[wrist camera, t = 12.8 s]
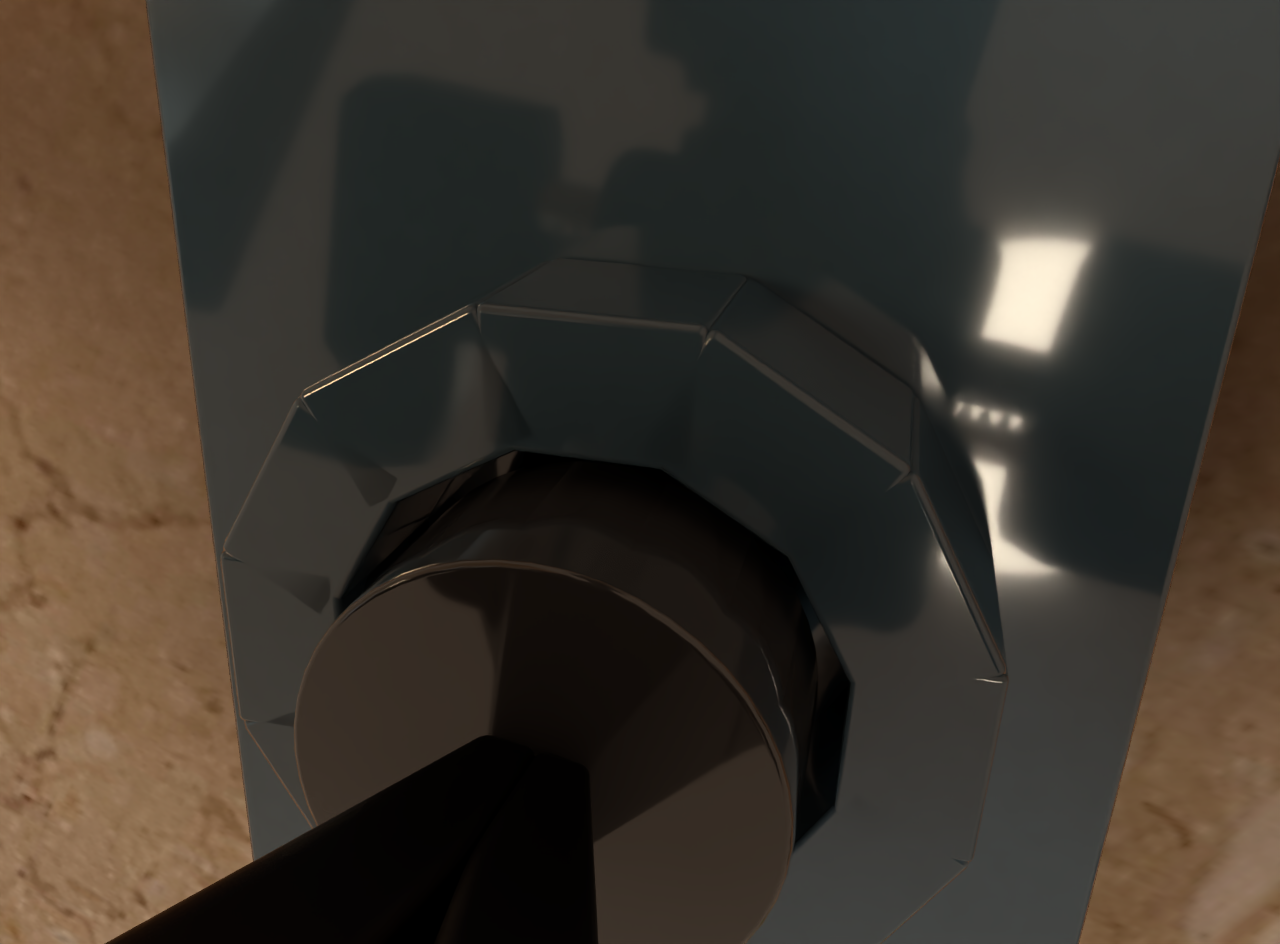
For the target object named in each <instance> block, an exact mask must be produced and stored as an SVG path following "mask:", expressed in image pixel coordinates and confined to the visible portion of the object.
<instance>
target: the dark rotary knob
mask: <svg viewBox="0 0 1280 944" xmlns="http://www.w3.org/2000/svg"><path fill="white" fill-rule="evenodd" d="M818 679H819V673H818V664H817V655H816V648H815V644H814V640H813V636H812V632H811V628H810V625H809V621H808V619H807V617H806V614H805V612H804V609H803V607H802V605H801V602H800V600H799V597H798V595H797V594H796V592H795V590H794V589H793V587H792V585H791V583H790V582H789V580H788V578H787V577H786V575H785V573H784V572H783V570H782V569H781V568H780V566H779V565H778V564H777V562H776V561H775V560H774V559H773V557H772V556H771V555H770V553H769V552H768V551H767V549H766V548H765V547H764V546H763V545H762V544H761V543H760V542H759V541H758V540H757V539H756V538H755V537H754V536H753V535H752V534H751V533H750V532H749V531H748V530H747V529H746V528H745V527H743V526H742V525H740V524H739V523H738V522H736V521H735V520H733V519H732V518H730V517H729V516H728V515H726V514H725V513H723V512H722V511H720V510H719V509H717V508H716V507H715V506H713V505H712V504H710V503H709V502H707V501H706V500H705V499H703V498H702V497H700V496H699V495H697V494H696V493H694V492H693V491H692V490H690V489H688V488H686V487H684V486H682V485H680V484H678V483H675V482H673V481H671V480H669V479H667V478H664V477H661V476H658V475H655V474H652V473H649V472H645V471H642V470H639V469H636V468H631V467H625V466H620V465H615V464H610V463H600V462H585V461H569V462H553V463H545V464H540V465H535V466H530V467H525V468H521V469H518V470H515V471H512V472H509V473H506V474H503V475H501V476H498V477H495V478H493V479H491V480H490V481H488V482H486V483H484V484H482V485H480V486H478V487H476V488H474V489H473V490H471V491H470V492H469V493H467V494H466V495H465V496H463V497H462V498H460V499H459V500H458V501H456V502H455V503H454V504H453V505H452V506H451V507H450V508H449V509H447V510H446V511H445V512H444V513H443V514H442V515H441V516H440V517H439V518H438V519H437V520H436V521H435V522H434V523H433V524H432V525H431V526H430V527H429V528H428V529H427V530H426V531H425V532H424V533H423V534H422V535H421V536H420V537H419V538H418V539H417V540H416V541H415V542H414V543H413V544H412V545H411V546H410V547H409V548H408V549H407V550H406V551H405V552H404V553H403V554H401V555H400V556H399V557H398V558H397V559H396V560H395V561H394V562H393V563H392V564H391V565H390V566H389V567H388V568H387V569H386V570H385V571H384V572H383V573H382V574H381V575H380V576H379V577H378V578H377V579H376V580H375V581H374V582H373V583H372V584H371V585H370V586H369V587H368V588H367V589H366V590H365V591H364V592H363V593H362V594H361V595H360V596H359V597H358V598H357V599H355V600H354V601H353V602H352V603H351V604H350V605H349V606H348V607H347V608H346V609H345V610H344V611H343V612H342V613H341V614H340V615H339V617H338V618H337V619H336V620H335V621H334V622H333V623H332V624H331V625H330V626H329V628H328V629H327V631H326V632H325V634H324V635H323V636H322V638H321V639H320V641H319V642H318V644H317V645H316V647H315V649H314V651H313V653H312V655H311V658H310V660H309V662H308V664H307V666H306V668H305V671H304V674H303V678H302V681H301V685H300V688H299V692H298V696H297V702H296V710H295V718H294V749H295V757H296V763H297V769H298V774H299V779H300V783H301V786H302V789H303V792H304V796H305V799H306V802H307V805H308V807H309V810H310V812H311V814H312V816H313V819H314V821H315V823H316V825H317V826H319V825H320V824H322V823H324V822H326V821H328V820H329V819H331V818H333V817H335V816H337V815H338V814H340V813H342V812H344V811H346V810H347V809H349V808H351V807H353V806H355V805H357V804H358V803H360V802H362V801H364V800H366V799H367V798H369V797H371V796H373V795H375V794H376V793H378V792H380V791H382V790H384V789H385V788H387V787H389V786H391V785H393V784H394V783H396V782H398V781H400V780H402V779H404V778H405V777H407V776H409V775H411V774H413V773H414V772H416V771H418V770H420V769H422V768H423V767H425V766H427V765H429V764H431V763H432V762H434V761H436V760H438V759H440V758H441V757H443V756H445V755H447V754H449V753H451V752H452V751H454V750H456V749H458V748H460V747H461V746H463V745H465V744H467V743H469V742H470V741H472V740H474V739H476V738H478V737H480V736H484V735H492V736H496V737H499V738H502V739H505V740H508V741H511V742H514V743H517V744H520V745H523V746H526V747H529V748H530V749H531V750H532V751H533V753H534V756H536V755H538V754H541V753H548V754H551V755H554V756H557V757H560V758H564V759H567V760H570V761H573V762H576V763H579V764H582V765H584V766H585V767H586V768H587V769H588V771H589V774H590V789H591V808H592V828H593V847H594V866H595V886H596V905H597V924H598V944H746V943H747V941H748V940H749V939H750V938H751V937H752V936H753V935H754V933H755V932H756V931H757V930H758V929H759V928H760V926H761V925H762V924H763V923H764V922H765V920H766V918H767V917H768V915H769V913H770V912H771V910H772V908H773V907H774V905H775V904H776V902H777V900H778V898H779V896H780V893H781V890H782V888H783V885H784V883H785V880H786V878H787V875H788V871H789V866H790V861H791V857H792V852H793V847H794V841H795V835H796V829H797V823H798V816H799V810H800V804H801V798H802V792H803V786H804V780H805V774H806V768H807V762H808V756H809V749H810V743H811V737H812V731H813V725H814V719H815V713H816V707H817V701H818Z"/></svg>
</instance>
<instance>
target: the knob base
mask: <svg viewBox="0 0 1280 944" xmlns="http://www.w3.org/2000/svg"><path fill="white" fill-rule="evenodd" d="M146 8H147V16H148V24H149V32H150V40H151V48H152V56H153V64H154V72H155V80H156V88H157V96H158V104H159V112H160V120H161V128H162V136H163V144H164V152H165V160H166V168H167V176H168V184H169V192H170V200H171V208H172V216H173V224H174V232H175V240H176V248H177V256H178V264H179V272H180V280H181V288H182V296H183V304H184V312H185V320H186V328H187V336H188V344H189V352H190V360H191V368H192V376H193V384H194V393H195V401H196V409H197V417H198V425H199V433H200V441H201V449H202V457H203V465H204V473H205V481H206V489H207V497H208V505H209V513H210V521H211V529H212V537H213V545H214V553H215V561H216V569H217V577H218V585H219V593H220V601H221V609H222V617H223V625H224V633H225V641H226V649H227V657H228V665H229V673H230V681H231V689H232V697H233V705H234V713H235V721H236V729H237V737H238V745H239V753H240V761H241V769H242V777H243V785H244V793H245V801H246V809H247V817H248V825H249V833H250V841H251V849H252V857H253V861H255V860H257V859H259V858H261V857H262V856H264V855H266V854H268V853H270V852H272V851H273V850H275V849H277V848H279V847H281V846H282V845H284V844H286V843H288V842H290V841H291V840H293V839H295V838H297V837H299V836H300V835H302V834H304V833H306V832H308V831H309V830H311V829H313V828H315V827H317V825H316V823H315V821H314V819H313V816H312V814H311V812H310V810H309V807H308V805H307V802H306V799H305V796H304V792H303V789H302V786H301V783H300V779H299V774H298V769H297V763H296V757H295V749H294V718H295V710H296V702H297V696H298V692H299V688H300V685H301V681H302V678H303V674H304V671H305V668H306V666H307V664H308V662H309V660H310V658H311V655H312V653H313V651H314V649H315V647H316V645H317V644H318V642H319V641H320V639H321V638H322V636H323V635H324V634H325V632H326V631H327V629H328V628H329V626H330V625H331V624H332V623H333V622H334V621H335V620H336V619H337V618H338V617H339V615H340V614H341V613H342V612H343V611H344V610H345V609H346V608H347V607H348V606H349V605H350V604H351V603H352V602H353V601H354V600H355V599H357V598H358V597H359V596H360V595H361V594H362V593H363V592H364V591H365V590H366V589H367V588H368V587H369V586H370V585H371V584H372V583H373V582H374V581H375V580H376V579H377V578H378V577H379V576H380V575H381V574H382V573H383V572H384V571H385V570H386V569H387V568H388V567H389V566H390V565H391V564H392V563H393V562H394V561H395V560H396V559H397V558H398V557H399V556H400V555H401V554H403V553H404V552H405V551H406V550H407V549H408V548H409V547H410V546H411V545H412V544H413V543H414V542H415V541H416V540H417V539H418V538H419V537H420V536H421V535H422V534H423V533H424V532H425V531H426V530H427V529H428V528H429V527H430V526H431V525H432V524H433V523H434V522H435V521H436V520H437V519H438V518H439V517H440V516H441V515H442V514H443V513H444V512H445V511H446V510H447V509H449V508H450V507H451V506H452V505H453V504H454V503H455V502H456V501H458V500H459V499H460V498H462V497H463V496H465V495H466V494H467V493H469V492H470V491H471V490H473V489H474V488H476V487H478V486H480V485H482V484H484V483H486V482H488V481H490V480H491V479H493V478H495V477H498V476H501V475H503V474H506V473H509V472H512V471H515V470H518V469H521V468H525V467H530V466H535V465H540V464H545V463H553V462H569V461H585V462H600V463H610V464H615V465H620V466H625V467H631V468H636V469H639V470H642V471H645V472H649V473H652V474H655V475H658V476H661V477H664V478H667V479H669V480H671V481H673V482H675V483H678V484H680V485H682V486H684V487H686V488H688V489H690V490H692V491H693V492H694V493H696V494H697V495H699V496H700V497H702V498H703V499H705V500H706V501H707V502H709V503H710V504H712V505H713V506H715V507H716V508H717V509H719V510H720V511H722V512H723V513H725V514H726V515H728V516H729V517H730V518H732V519H733V520H735V521H736V522H738V523H739V524H740V525H742V526H743V527H745V528H746V529H747V530H748V531H749V532H750V533H751V534H752V535H753V536H754V537H755V538H756V539H757V540H758V541H759V542H760V543H761V544H762V545H763V546H764V547H765V548H766V549H767V551H768V552H769V553H770V555H771V556H772V557H773V559H774V560H775V561H776V562H777V564H778V565H779V566H780V568H781V569H782V570H783V572H784V573H785V575H786V577H787V578H788V580H789V582H790V583H791V585H792V587H793V589H794V590H795V592H796V594H797V595H798V597H799V600H800V602H801V605H802V607H803V609H804V612H805V614H806V617H807V619H808V621H809V625H810V628H811V632H812V636H813V640H814V644H815V648H816V655H817V664H818V673H819V679H818V701H817V707H816V713H815V719H814V725H813V731H812V737H811V743H810V749H809V756H808V762H807V768H806V774H805V780H804V786H803V792H802V798H801V804H800V810H799V816H798V823H797V829H796V835H795V841H794V847H793V852H792V857H791V861H790V866H789V871H788V875H787V878H786V880H785V883H784V885H783V888H782V890H781V893H780V896H779V898H778V900H777V902H776V904H775V905H774V907H773V908H772V910H771V912H770V913H769V915H768V917H767V918H766V920H765V922H764V923H763V924H762V925H761V926H760V928H759V929H758V930H757V931H756V932H755V933H754V935H753V936H752V937H751V938H750V939H749V940H748V941H747V943H746V944H1079V942H1080V938H1081V934H1082V930H1083V926H1084V923H1085V919H1086V915H1087V911H1088V907H1089V903H1090V899H1091V895H1092V891H1093V887H1094V884H1095V880H1096V876H1097V872H1098V868H1099V864H1100V860H1101V856H1102V852H1103V848H1104V845H1105V841H1106V837H1107V833H1108V829H1109V825H1110V821H1111V817H1112V813H1113V809H1114V806H1115V802H1116V798H1117V794H1118V790H1119V786H1120V782H1121V778H1122V774H1123V770H1124V767H1125V763H1126V759H1127V755H1128V751H1129V747H1130V743H1131V739H1132V735H1133V731H1134V728H1135V724H1136V720H1137V716H1138V712H1139V708H1140V704H1141V700H1142V696H1143V692H1144V689H1145V685H1146V681H1147V677H1148V673H1149V669H1150V665H1151V661H1152V657H1153V653H1154V650H1155V646H1156V642H1157V638H1158V634H1159V630H1160V626H1161V622H1162V618H1163V614H1164V611H1165V607H1166V603H1167V599H1168V595H1169V591H1170V587H1171V583H1172V579H1173V575H1174V572H1175V568H1176V564H1177V560H1178V556H1179V552H1180V548H1181V544H1182V540H1183V536H1184V533H1185V529H1186V525H1187V521H1188V517H1189V513H1190V509H1191V505H1192V501H1193V497H1194V493H1195V490H1196V486H1197V482H1198V478H1199V474H1200V470H1201V466H1202V462H1203V458H1204V454H1205V451H1206V447H1207V443H1208V439H1209V435H1210V431H1211V427H1212V423H1213V419H1214V415H1215V412H1216V408H1217V404H1218V400H1219V396H1220V392H1221V388H1222V384H1223V380H1224V376H1225V373H1226V369H1227V365H1228V361H1229V357H1230V353H1231V349H1232V345H1233V341H1234V337H1235V334H1236V330H1237V326H1238V322H1239V318H1240V314H1241V310H1242V306H1243V302H1244V298H1245V295H1246V291H1247V287H1248V283H1249V279H1250V275H1251V271H1252V267H1253V263H1254V259H1255V256H1256V252H1257V248H1258V244H1259V240H1260V236H1261V232H1262V228H1263V224H1264V220H1265V217H1266V213H1267V209H1268V205H1269V201H1270V197H1271V193H1272V189H1273V185H1274V181H1275V178H1276V174H1277V170H1278V166H1279V162H1280V0H146Z"/></svg>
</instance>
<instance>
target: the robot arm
mask: <svg viewBox="0 0 1280 944" xmlns="http://www.w3.org/2000/svg"><path fill="white" fill-rule="evenodd" d="M105 944H598V924H597V905H596V886H595V866H594V847H593V828H592V808H591V789H590V774H589V771H588V769H587V768H586V767H585V766H584V765H582V764H579V763H576V762H573V761H570V760H567V759H564V758H560V757H557V756H554V755H551V754H548V753H541V754H538V755H536V756H534V753H533V751H532V750H531V749H530V748H529V747H526V746H523V745H520V744H517V743H514V742H511V741H508V740H505V739H502V738H499V737H496V736H492V735H484V736H480V737H478V738H476V739H474V740H472V741H470V742H469V743H467V744H465V745H463V746H461V747H460V748H458V749H456V750H454V751H452V752H451V753H449V754H447V755H445V756H443V757H441V758H440V759H438V760H436V761H434V762H432V763H431V764H429V765H427V766H425V767H423V768H422V769H420V770H418V771H416V772H414V773H413V774H411V775H409V776H407V777H405V778H404V779H402V780H400V781H398V782H396V783H394V784H393V785H391V786H389V787H387V788H385V789H384V790H382V791H380V792H378V793H376V794H375V795H373V796H371V797H369V798H367V799H366V800H364V801H362V802H360V803H358V804H357V805H355V806H353V807H351V808H349V809H347V810H346V811H344V812H342V813H340V814H338V815H337V816H335V817H333V818H331V819H329V820H328V821H326V822H324V823H322V824H320V825H319V826H317V827H315V828H313V829H311V830H309V831H308V832H306V833H304V834H302V835H300V836H299V837H297V838H295V839H293V840H291V841H290V842H288V843H286V844H284V845H282V846H281V847H279V848H277V849H275V850H273V851H272V852H270V853H268V854H266V855H264V856H262V857H261V858H259V859H257V860H255V861H253V862H252V863H250V864H248V865H246V866H244V867H243V868H241V869H239V870H237V871H235V872H234V873H232V874H230V875H228V876H226V877H225V878H223V879H221V880H219V881H217V882H215V883H214V884H212V885H210V886H208V887H206V888H205V889H203V890H201V891H199V892H197V893H196V894H194V895H192V896H190V897H188V898H187V899H185V900H183V901H181V902H179V903H178V904H176V905H174V906H172V907H170V908H168V909H167V910H165V911H163V912H161V913H159V914H158V915H156V916H154V917H152V918H150V919H149V920H147V921H145V922H143V923H141V924H140V925H138V926H136V927H134V928H132V929H131V930H129V931H127V932H125V933H123V934H121V935H120V936H118V937H116V938H114V939H112V940H111V941H109V942H107V943H105Z"/></svg>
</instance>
